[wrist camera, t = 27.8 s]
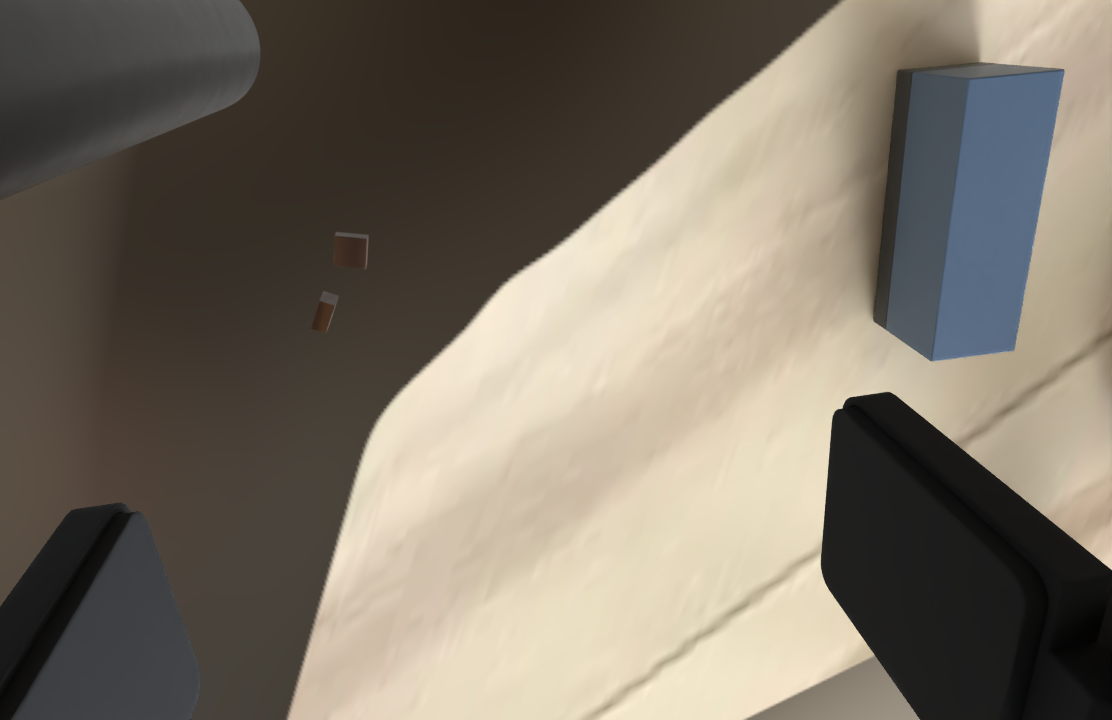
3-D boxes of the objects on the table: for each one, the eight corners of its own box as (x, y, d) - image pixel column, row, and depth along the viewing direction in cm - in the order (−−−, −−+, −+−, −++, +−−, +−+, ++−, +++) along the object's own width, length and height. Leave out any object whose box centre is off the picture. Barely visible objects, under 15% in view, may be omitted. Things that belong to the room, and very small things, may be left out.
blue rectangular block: (947, 311, 40) (1014, 351, 35) (872, 321, 39) (930, 362, 35) (981, 62, 35) (1065, 69, 30) (897, 70, 35) (968, 78, 30)
